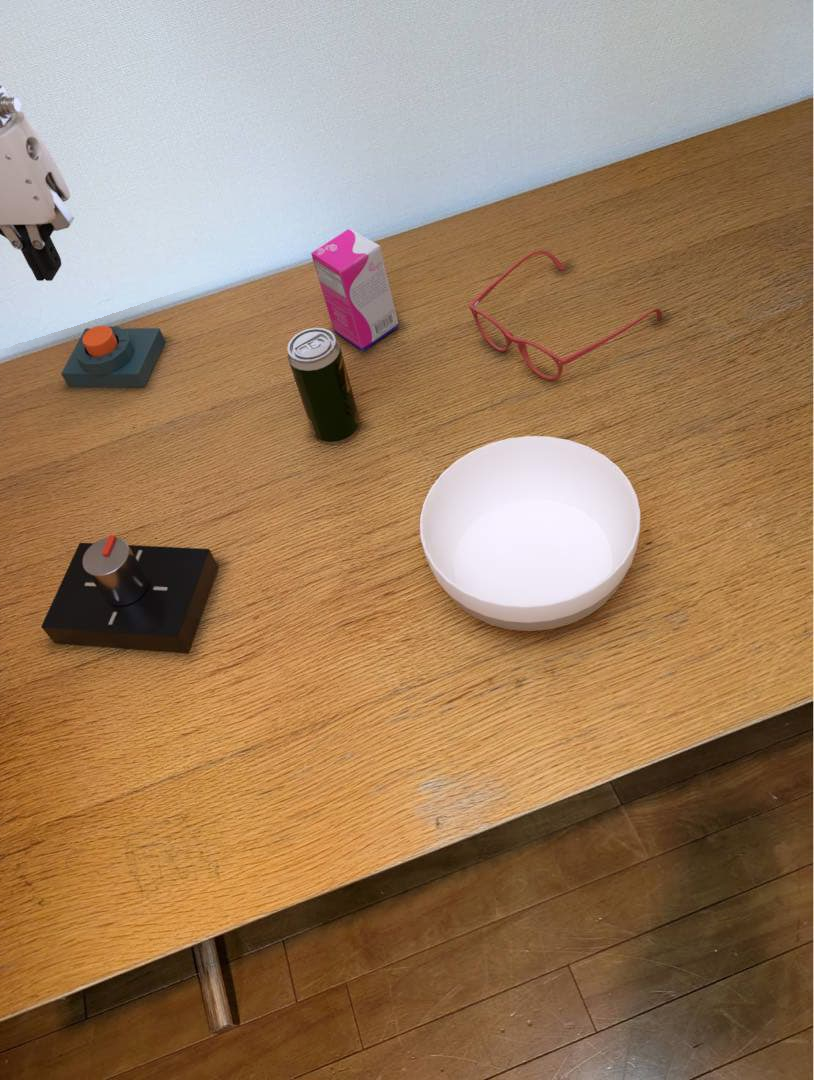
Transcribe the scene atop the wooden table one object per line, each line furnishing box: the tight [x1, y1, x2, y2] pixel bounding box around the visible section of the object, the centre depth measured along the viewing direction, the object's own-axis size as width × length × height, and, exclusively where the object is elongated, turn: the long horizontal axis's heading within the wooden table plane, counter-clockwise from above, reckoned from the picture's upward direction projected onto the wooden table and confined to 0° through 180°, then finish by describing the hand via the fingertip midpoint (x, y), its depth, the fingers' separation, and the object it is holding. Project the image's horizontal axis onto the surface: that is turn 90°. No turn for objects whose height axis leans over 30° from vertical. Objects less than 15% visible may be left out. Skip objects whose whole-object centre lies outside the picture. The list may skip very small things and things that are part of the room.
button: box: [82, 325, 118, 357], centre depth 116 cm, size 4×4×2 cm
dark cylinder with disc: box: [83, 534, 148, 606], centre depth 92 cm, size 4×4×5 cm
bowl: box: [419, 435, 642, 632], centre depth 88 cm, size 19×19×9 cm
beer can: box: [286, 327, 361, 446], centre depth 103 cm, size 5×5×12 cm
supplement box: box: [310, 227, 400, 353], centre depth 112 cm, size 6×6×12 cm
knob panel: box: [40, 542, 219, 654], centre depth 95 cm, size 14×10×3 cm
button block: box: [60, 325, 167, 388], centre depth 118 cm, size 10×8×4 cm
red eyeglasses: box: [468, 249, 663, 381], centre depth 109 cm, size 17×16×5 cm
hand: (49, 272), depth 107 cm, fingers closed
